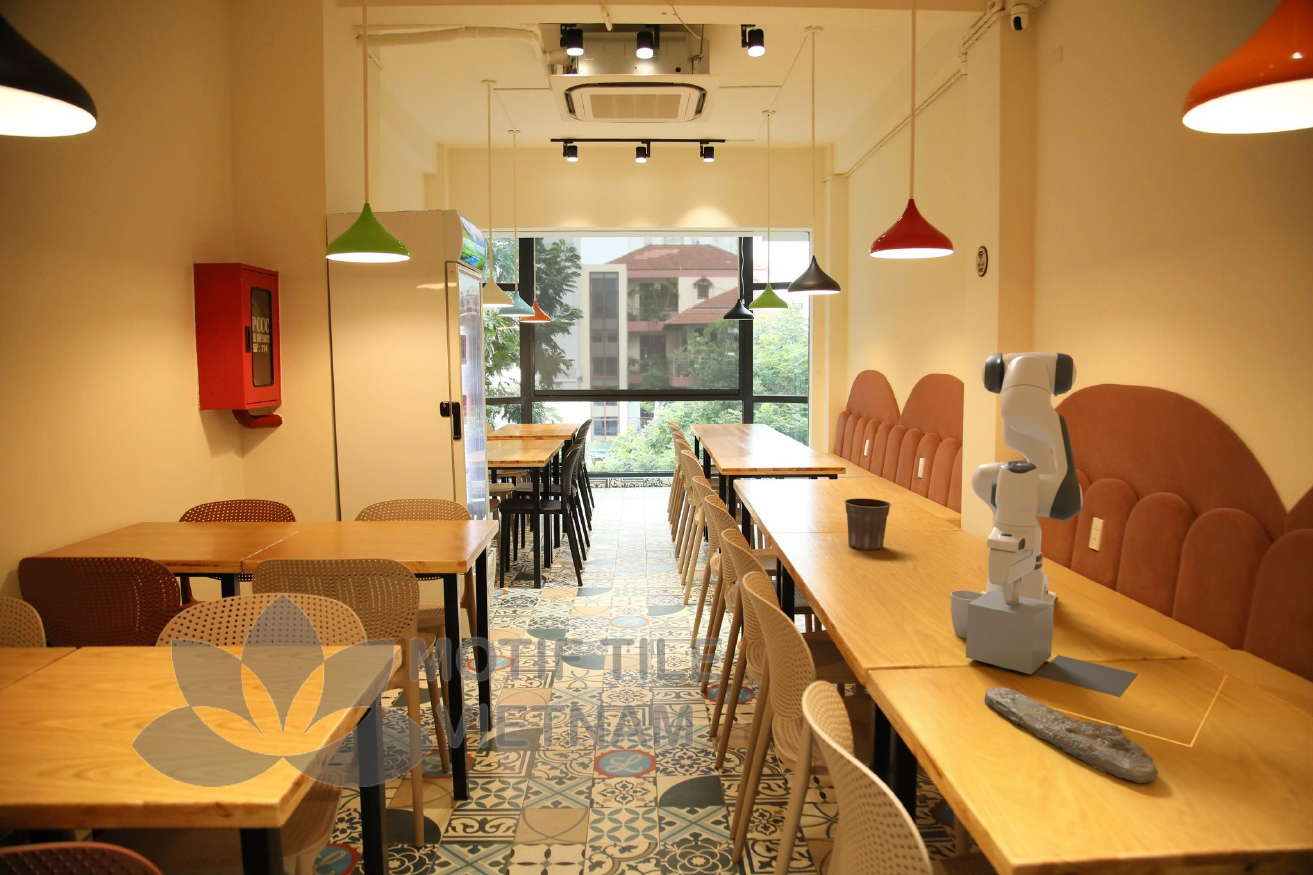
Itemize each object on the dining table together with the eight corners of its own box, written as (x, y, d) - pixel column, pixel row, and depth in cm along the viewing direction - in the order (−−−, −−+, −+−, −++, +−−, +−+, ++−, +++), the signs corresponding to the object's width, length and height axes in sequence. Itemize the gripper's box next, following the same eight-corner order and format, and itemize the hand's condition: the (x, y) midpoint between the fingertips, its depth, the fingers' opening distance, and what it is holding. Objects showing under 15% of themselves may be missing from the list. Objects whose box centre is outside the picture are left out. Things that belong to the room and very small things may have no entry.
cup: (986, 641, 193) (988, 601, 192) (951, 639, 194) (953, 598, 193) (980, 630, 201) (982, 591, 200) (946, 628, 202) (947, 589, 201)
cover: (988, 641, 189) (992, 569, 187) (1051, 656, 180) (1055, 581, 178) (965, 657, 179) (969, 581, 177) (1030, 674, 169) (1035, 594, 168)
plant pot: (894, 552, 280) (896, 506, 279) (848, 551, 280) (850, 506, 279) (882, 541, 296) (884, 498, 295) (838, 541, 297) (840, 497, 295)
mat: (1057, 656, 183) (1057, 654, 183) (1137, 675, 173) (1137, 673, 173) (1035, 676, 172) (1035, 675, 172) (1119, 698, 161) (1119, 696, 161)
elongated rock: (1009, 702, 163) (970, 712, 159) (1009, 677, 162) (969, 686, 159) (1175, 778, 130) (1130, 793, 126) (1175, 747, 129) (1130, 760, 126)
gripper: (1016, 526, 186) (1012, 584, 188) (983, 540, 171) (980, 604, 172) (1045, 530, 182) (1041, 589, 183) (1014, 545, 167) (1010, 610, 168)
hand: (1011, 597), depth 178 cm, fingers closed on cover, 3 cm apart
